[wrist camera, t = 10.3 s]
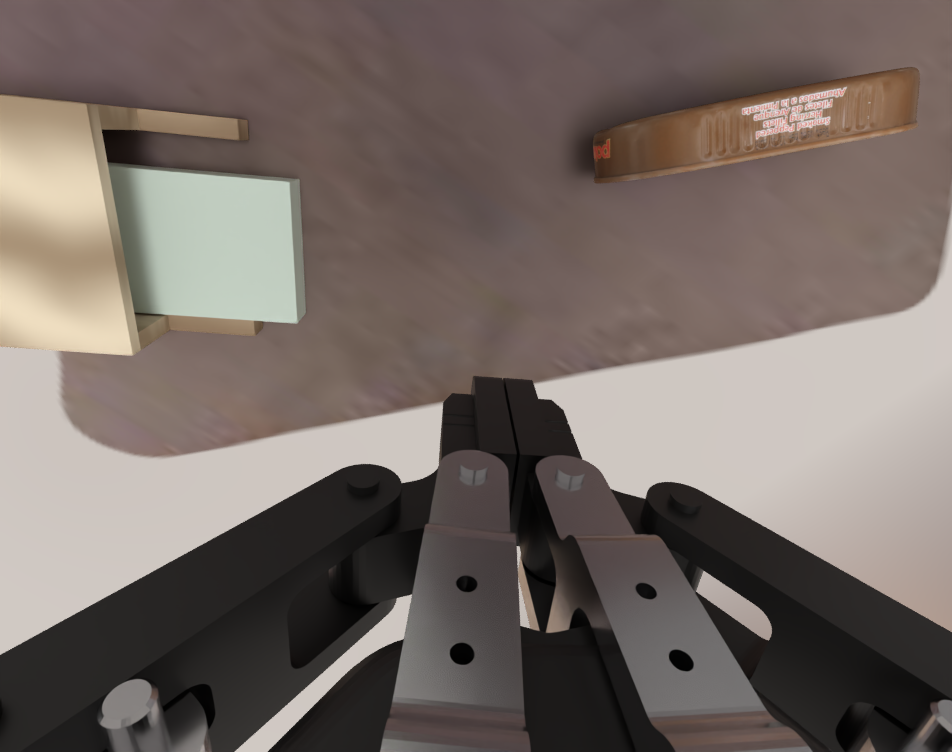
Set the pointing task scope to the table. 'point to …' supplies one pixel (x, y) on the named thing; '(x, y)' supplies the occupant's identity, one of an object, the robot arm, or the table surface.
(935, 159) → the table surface
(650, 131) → the tin
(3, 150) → the beige forked block
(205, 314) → the panel
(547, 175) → the table surface
